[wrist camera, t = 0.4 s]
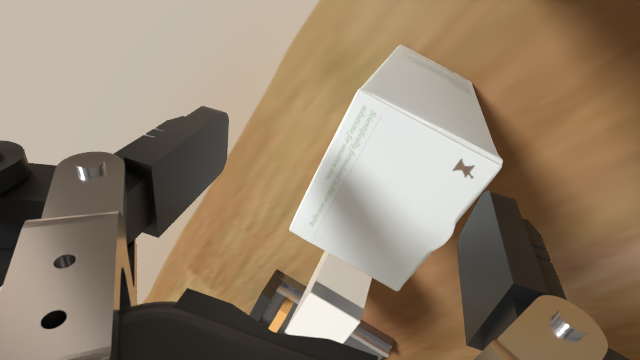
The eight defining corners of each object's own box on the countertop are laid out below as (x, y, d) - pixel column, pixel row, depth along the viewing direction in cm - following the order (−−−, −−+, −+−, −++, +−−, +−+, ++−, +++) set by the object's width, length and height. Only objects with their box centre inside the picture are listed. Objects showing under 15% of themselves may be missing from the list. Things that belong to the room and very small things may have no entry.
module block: (346, 214, 34) (309, 292, 25) (383, 235, 34) (360, 322, 24) (325, 249, 37) (284, 332, 27) (359, 269, 37) (329, 359, 27)
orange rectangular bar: (286, 296, 39) (279, 310, 38) (294, 301, 39) (287, 314, 38) (268, 327, 42) (261, 340, 41) (275, 331, 42) (268, 345, 41)
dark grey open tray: (276, 269, 40) (260, 293, 37) (393, 339, 39) (389, 371, 36) (251, 315, 44) (235, 341, 41) (356, 379, 44) (349, 410, 40)
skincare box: (400, 42, 27) (357, 73, 13) (479, 84, 26) (519, 160, 13) (350, 135, 31) (279, 230, 17) (418, 172, 30) (399, 300, 17)
